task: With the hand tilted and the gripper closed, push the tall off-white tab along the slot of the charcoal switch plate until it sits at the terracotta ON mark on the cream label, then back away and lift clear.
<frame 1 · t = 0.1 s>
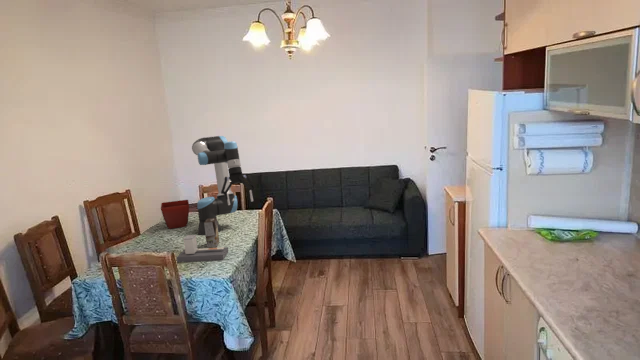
hand: (240, 203, 246), 28 cm above the table, tool tilted 20°, fingers open, 13 cm apart
coffee box: (213, 245, 262), on the table
switch deck: (203, 257, 242), on the table
plant pot: (178, 226, 311), on the table
switch tab: (190, 244, 241), point 8 cm above the table, slide at 0.0 cm
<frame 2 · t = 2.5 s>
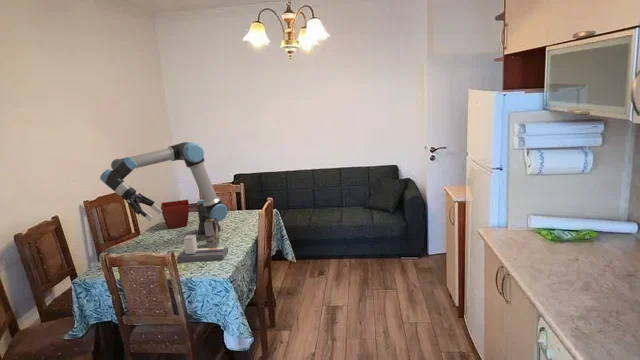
hand: (156, 216, 239), 26 cm above the table, tool tilted 45°, fingers open, 13 cm apart
nothing on the table moved.
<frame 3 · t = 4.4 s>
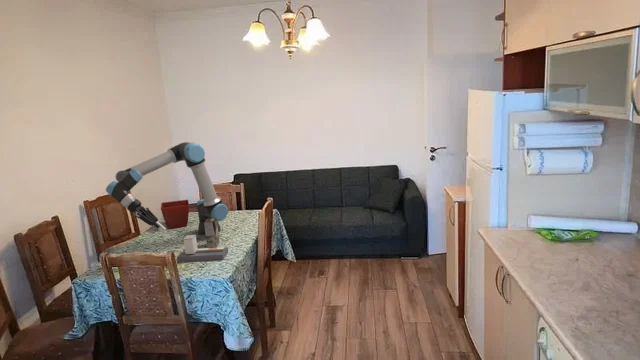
hand: (164, 230, 239), 17 cm above the table, tool tilted 45°, fingers closed
nothing on the table moved.
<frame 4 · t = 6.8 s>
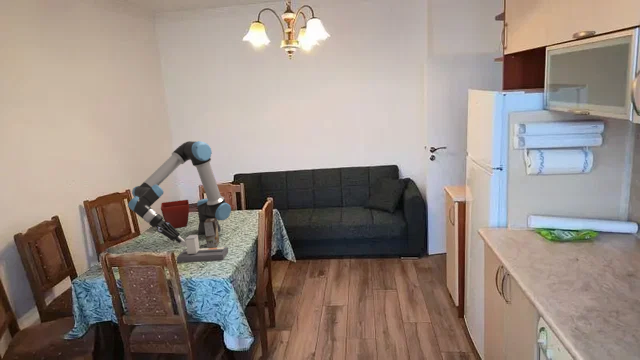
hand: (185, 245, 241), 8 cm above the table, tool tilted 45°, fingers closed
switch tab: (192, 244, 241), point 8 cm above the table, slide at 1.2 cm, touching gripper
everything else where it was.
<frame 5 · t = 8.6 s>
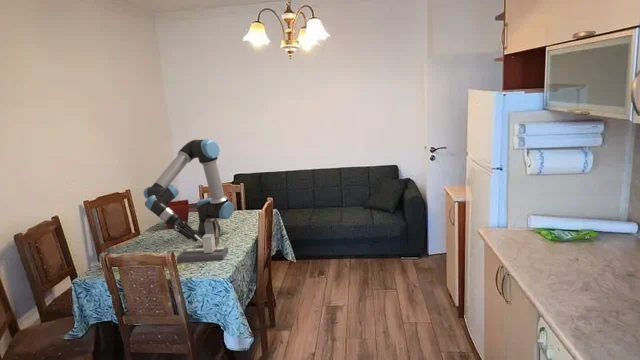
hand: (202, 243, 241), 8 cm above the table, tool tilted 45°, fingers closed
switch tab: (208, 243, 241), point 8 cm above the table, slide at 10.6 cm, touching gripper
everything else where it was.
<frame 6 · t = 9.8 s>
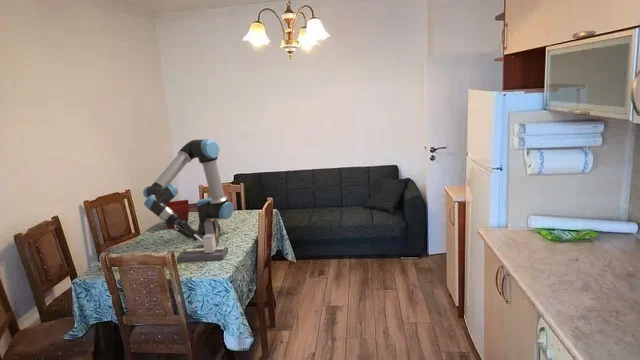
hand: (202, 243, 241), 8 cm above the table, tool tilted 45°, fingers closed
switch tab: (209, 243, 241), point 8 cm above the table, slide at 11.0 cm
everything else where it was.
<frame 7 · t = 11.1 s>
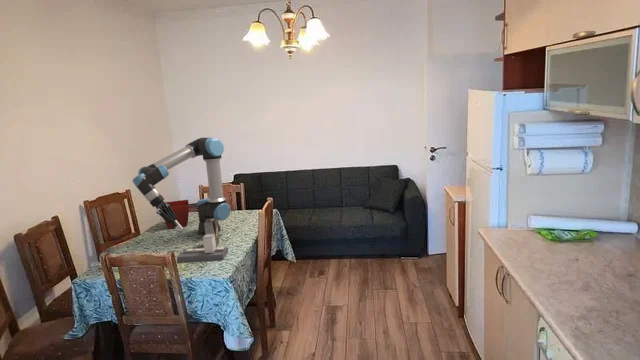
hand: (180, 229, 246), 15 cm above the table, tool tilted 30°, fingers closed
nothing on the table moved.
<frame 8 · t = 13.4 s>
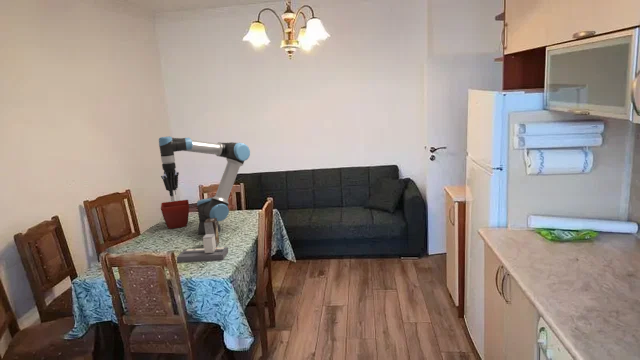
hand: (173, 200, 258), 29 cm above the table, tool pointing down, fingers closed
nothing on the table moved.
at the end: switch tab slide at 11.0 cm; coffee box moved 0.2 cm from its start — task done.
